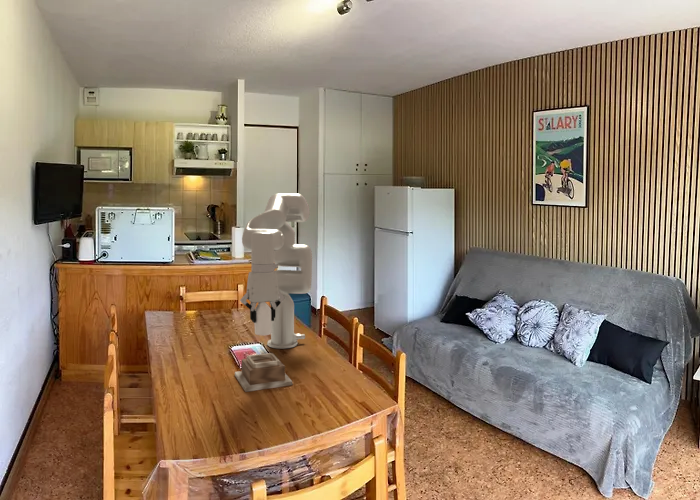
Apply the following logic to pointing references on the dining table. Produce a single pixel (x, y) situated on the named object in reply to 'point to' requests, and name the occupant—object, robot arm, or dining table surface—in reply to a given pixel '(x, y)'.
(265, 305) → the roll
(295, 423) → the dining table surface
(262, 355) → the tower base
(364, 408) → the dining table surface
